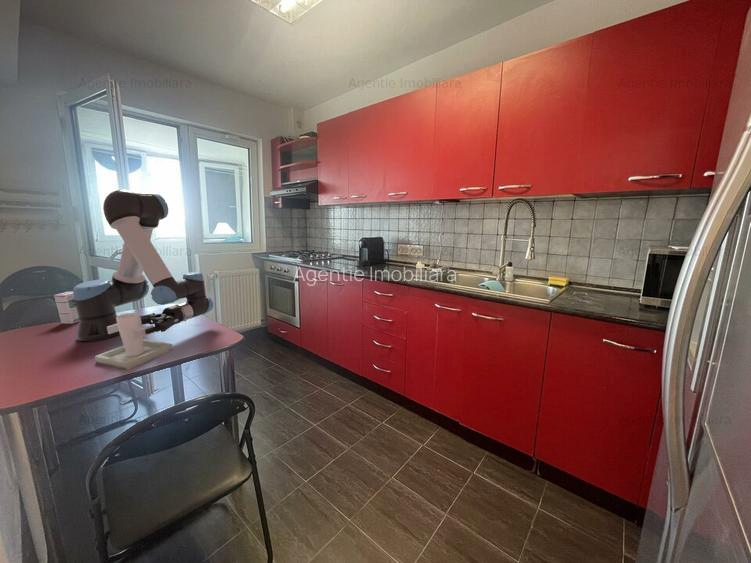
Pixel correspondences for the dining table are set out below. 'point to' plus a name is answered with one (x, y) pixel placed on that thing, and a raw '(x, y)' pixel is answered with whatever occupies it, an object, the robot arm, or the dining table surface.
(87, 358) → the dining table surface
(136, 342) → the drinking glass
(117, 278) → the robot arm
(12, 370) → the dining table surface
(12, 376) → the dining table surface
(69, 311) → the syrup box
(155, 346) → the tray
